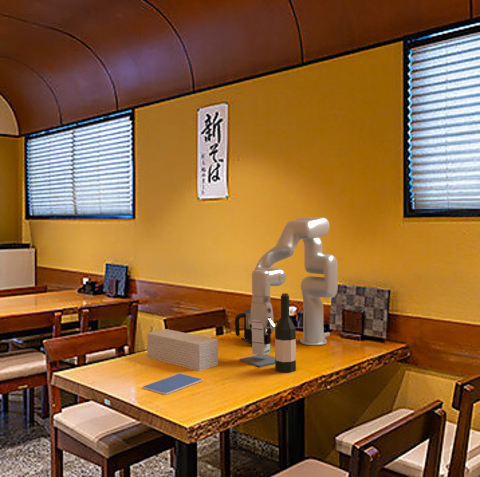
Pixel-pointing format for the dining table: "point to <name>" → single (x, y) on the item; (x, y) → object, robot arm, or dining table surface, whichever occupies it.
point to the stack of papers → (183, 349)
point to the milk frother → (246, 326)
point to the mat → (259, 360)
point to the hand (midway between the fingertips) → (261, 341)
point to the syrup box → (259, 339)
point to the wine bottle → (285, 340)
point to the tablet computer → (172, 384)
